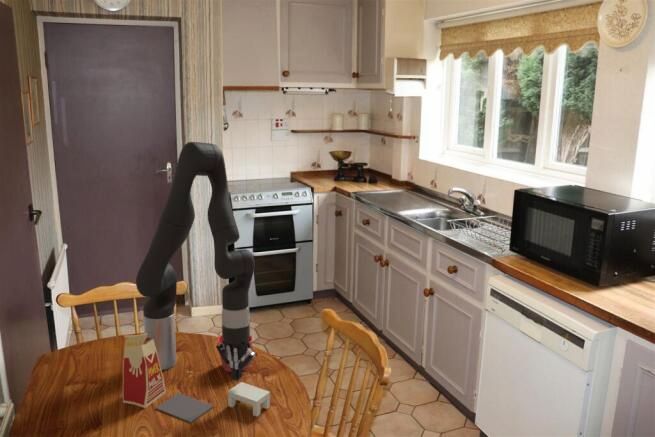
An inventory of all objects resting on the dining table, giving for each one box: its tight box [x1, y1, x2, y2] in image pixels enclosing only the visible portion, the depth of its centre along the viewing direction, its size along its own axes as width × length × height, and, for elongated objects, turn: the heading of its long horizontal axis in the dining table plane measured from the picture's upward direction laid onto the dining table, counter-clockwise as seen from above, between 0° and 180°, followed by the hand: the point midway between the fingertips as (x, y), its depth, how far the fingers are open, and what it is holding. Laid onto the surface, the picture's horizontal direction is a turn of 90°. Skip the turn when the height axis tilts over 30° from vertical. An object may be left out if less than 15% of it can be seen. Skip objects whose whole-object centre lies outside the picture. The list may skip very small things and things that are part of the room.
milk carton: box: [122, 333, 167, 409], centre depth 161 cm, size 9×9×20 cm
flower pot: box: [216, 334, 254, 373], centre depth 181 cm, size 11×11×10 cm
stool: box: [227, 381, 271, 418], centre depth 159 cm, size 5×6×10 cm
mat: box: [154, 392, 215, 424], centre depth 158 cm, size 13×9×1 cm
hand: (236, 379), depth 160 cm, fingers closed
